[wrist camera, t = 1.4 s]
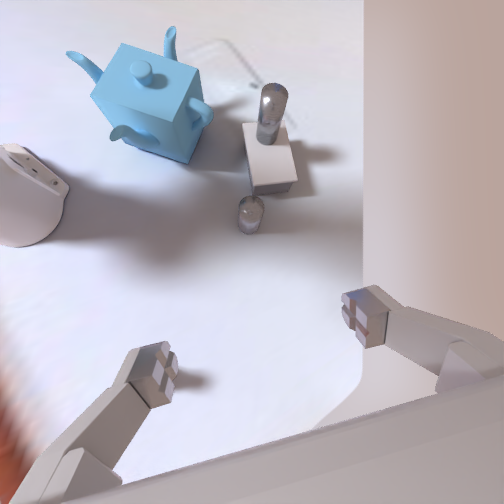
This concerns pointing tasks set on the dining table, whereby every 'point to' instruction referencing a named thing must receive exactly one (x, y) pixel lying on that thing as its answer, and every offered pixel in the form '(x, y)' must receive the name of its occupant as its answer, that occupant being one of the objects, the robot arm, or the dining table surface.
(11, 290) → the dining table surface
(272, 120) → the cylinder
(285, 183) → the scale
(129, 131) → the teakettle
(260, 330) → the dining table surface
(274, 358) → the dining table surface
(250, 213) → the ball
